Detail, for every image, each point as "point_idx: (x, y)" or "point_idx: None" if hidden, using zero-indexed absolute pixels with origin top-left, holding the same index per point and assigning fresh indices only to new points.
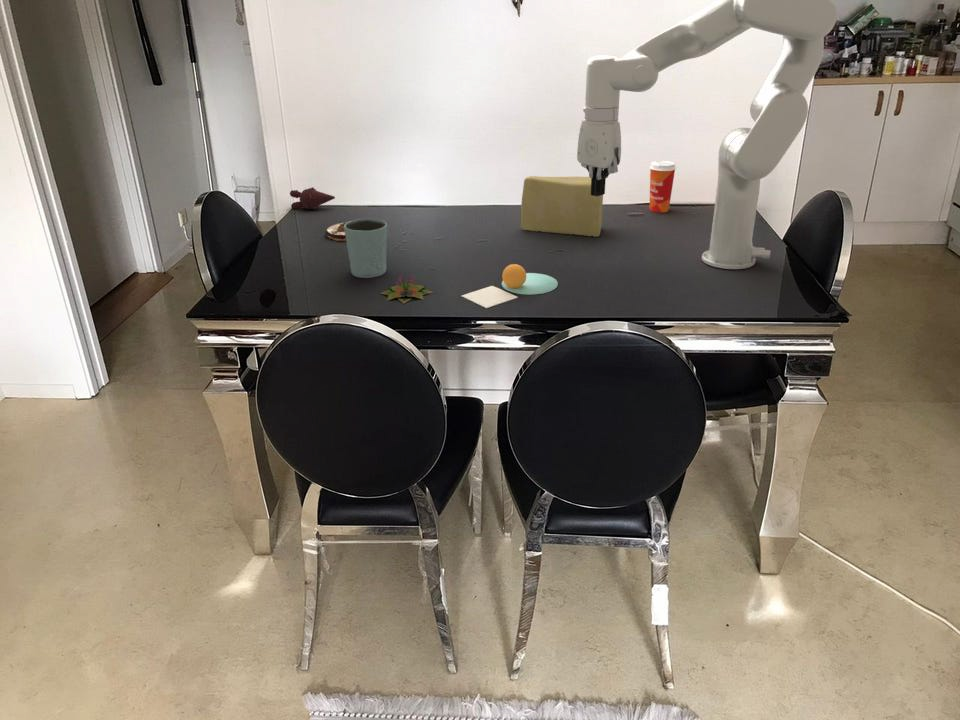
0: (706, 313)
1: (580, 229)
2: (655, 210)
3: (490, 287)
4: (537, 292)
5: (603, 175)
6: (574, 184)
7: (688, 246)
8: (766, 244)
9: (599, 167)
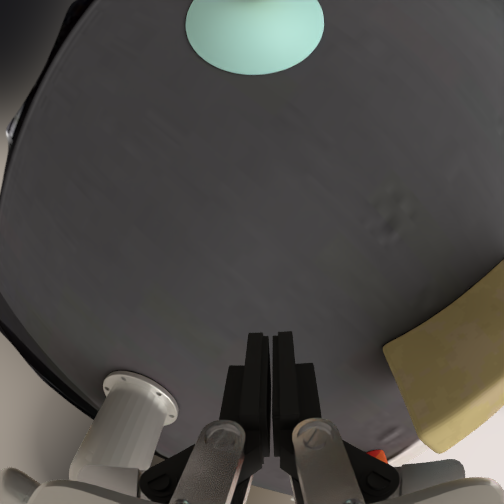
0: (5, 221)
1: (420, 333)
2: (370, 453)
3: None
4: (196, 5)
5: (183, 457)
6: (482, 394)
7: None
8: (176, 452)
9: (122, 498)
